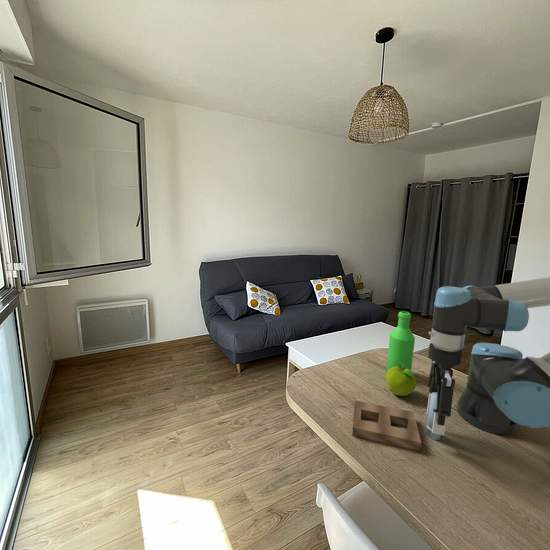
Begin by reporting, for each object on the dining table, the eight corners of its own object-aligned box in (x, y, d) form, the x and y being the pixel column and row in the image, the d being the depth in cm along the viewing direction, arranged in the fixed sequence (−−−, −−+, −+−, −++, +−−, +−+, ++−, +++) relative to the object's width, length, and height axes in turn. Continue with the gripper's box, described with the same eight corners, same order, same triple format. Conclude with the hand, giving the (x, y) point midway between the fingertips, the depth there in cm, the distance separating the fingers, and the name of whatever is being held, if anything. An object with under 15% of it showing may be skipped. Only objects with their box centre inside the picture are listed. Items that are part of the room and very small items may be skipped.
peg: (439, 432, 82) (444, 393, 80) (442, 441, 79) (448, 401, 76) (424, 429, 83) (429, 391, 81) (427, 438, 80) (432, 398, 78)
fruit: (406, 386, 105) (409, 360, 104) (418, 401, 96) (422, 373, 94) (381, 385, 105) (383, 359, 104) (390, 400, 96) (393, 373, 94)
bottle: (381, 369, 116) (387, 309, 112) (399, 367, 119) (405, 308, 115) (396, 381, 108) (403, 317, 104) (415, 378, 111) (423, 315, 106)
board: (412, 419, 87) (413, 411, 87) (420, 451, 75) (421, 442, 75) (354, 407, 92) (354, 400, 92) (352, 435, 80) (352, 427, 80)
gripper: (423, 330, 86) (414, 400, 91) (438, 360, 68) (426, 446, 72) (451, 334, 84) (441, 405, 88) (475, 365, 66) (461, 454, 70)
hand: (434, 424), depth 80 cm, fingers open, 7 cm apart
